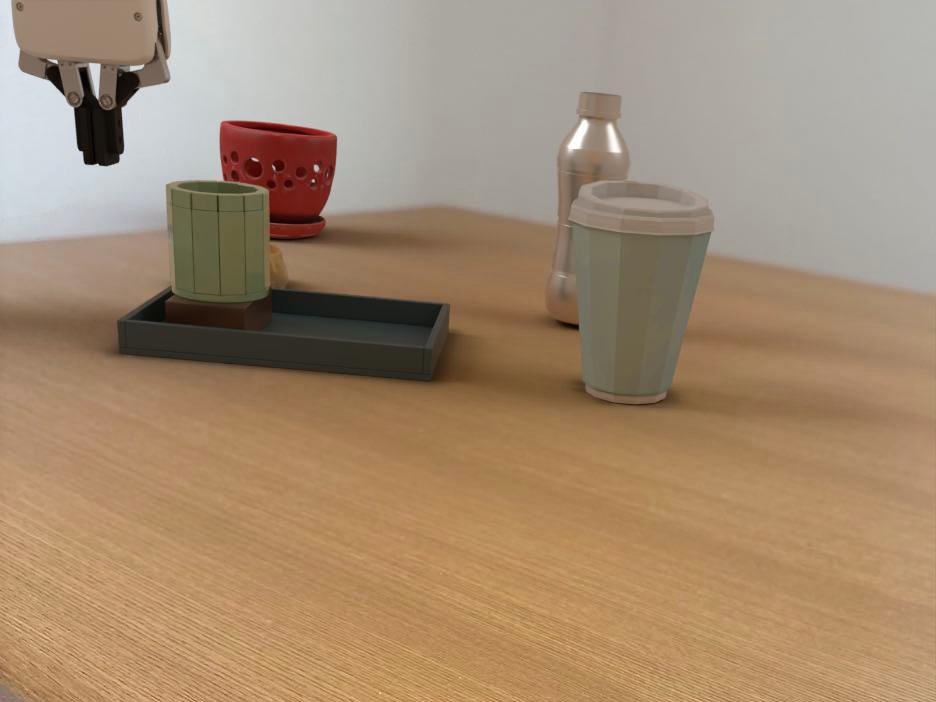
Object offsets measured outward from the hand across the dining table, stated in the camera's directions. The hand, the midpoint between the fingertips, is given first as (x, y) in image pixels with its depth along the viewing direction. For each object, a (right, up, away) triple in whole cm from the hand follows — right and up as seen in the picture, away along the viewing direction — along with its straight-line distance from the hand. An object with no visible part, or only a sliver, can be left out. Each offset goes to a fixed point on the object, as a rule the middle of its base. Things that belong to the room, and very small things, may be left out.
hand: (102, 163), depth 86 cm
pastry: (+5, -5, +22) cm, 23 cm away
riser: (+8, -12, +5) cm, 15 cm away
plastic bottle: (+37, -9, +20) cm, 43 cm away
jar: (+8, -9, +4) cm, 13 cm away
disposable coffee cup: (+39, -17, +1) cm, 43 cm away
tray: (+14, -13, +5) cm, 19 cm away
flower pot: (+2, +8, +48) cm, 49 cm away
